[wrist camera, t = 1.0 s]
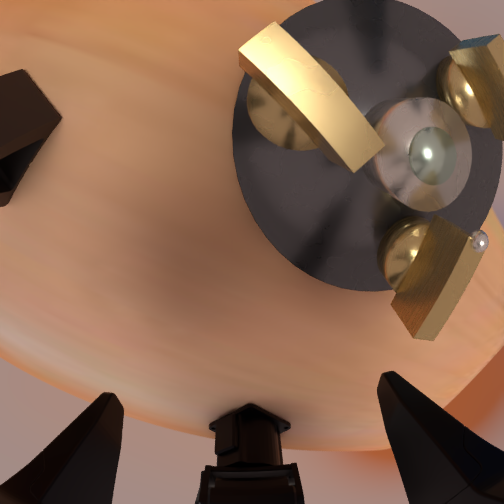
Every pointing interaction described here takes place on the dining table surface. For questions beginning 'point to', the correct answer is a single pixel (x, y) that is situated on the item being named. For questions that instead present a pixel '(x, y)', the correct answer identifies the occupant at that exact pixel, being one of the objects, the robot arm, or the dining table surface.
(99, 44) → the dining table surface
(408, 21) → the levelling base
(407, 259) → the wing knob
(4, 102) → the phone stand
